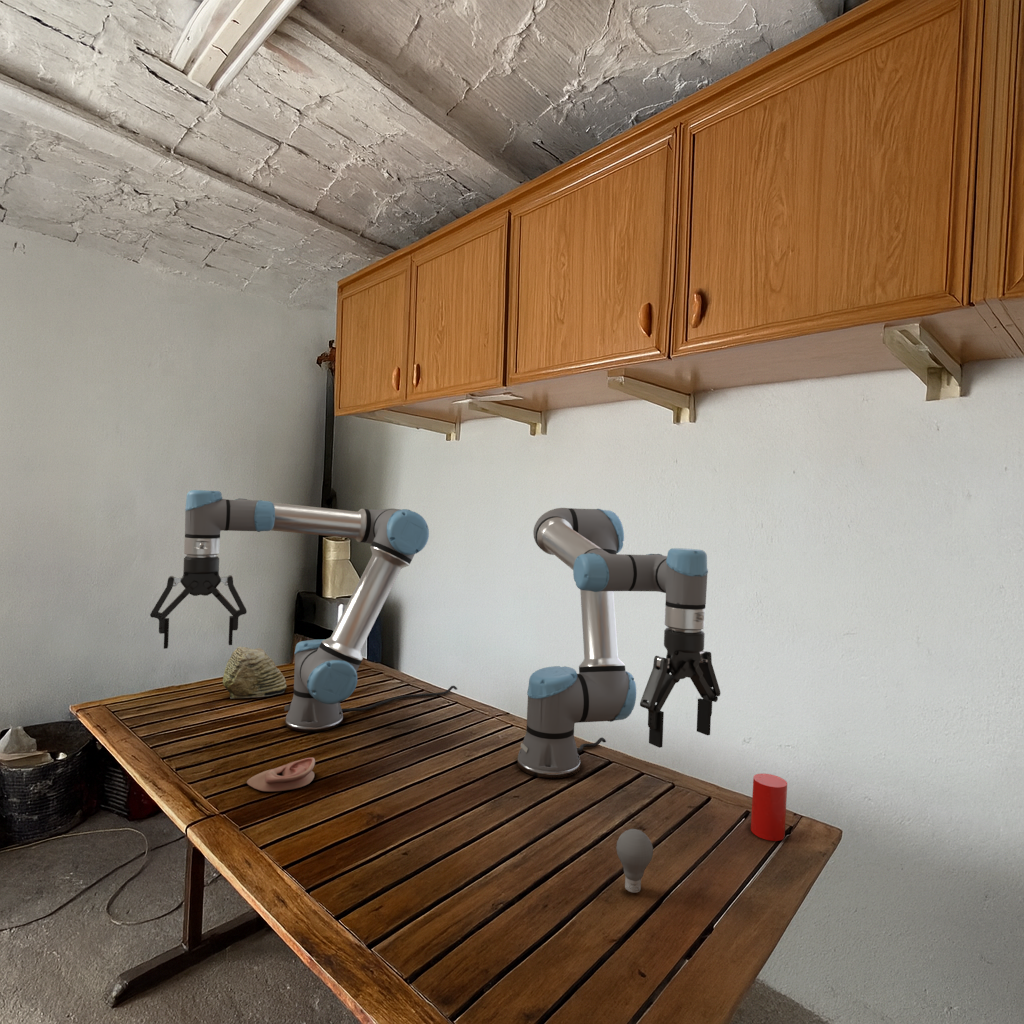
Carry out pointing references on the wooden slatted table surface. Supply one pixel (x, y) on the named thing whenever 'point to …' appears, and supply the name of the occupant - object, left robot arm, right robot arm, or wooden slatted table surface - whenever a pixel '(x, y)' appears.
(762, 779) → the tin
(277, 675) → the fossil
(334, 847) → the wooden slatted table surface
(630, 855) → the light bulb
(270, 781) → the anatomical model
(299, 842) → the wooden slatted table surface
